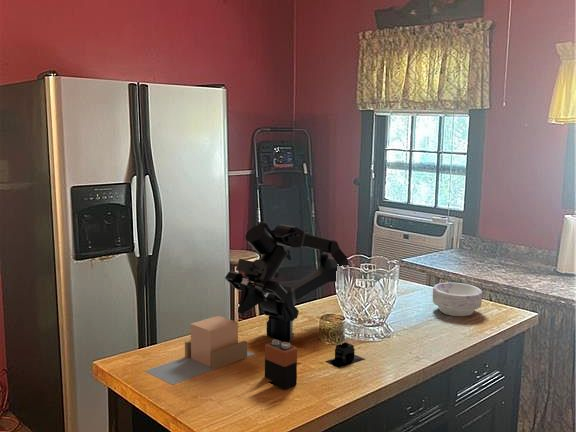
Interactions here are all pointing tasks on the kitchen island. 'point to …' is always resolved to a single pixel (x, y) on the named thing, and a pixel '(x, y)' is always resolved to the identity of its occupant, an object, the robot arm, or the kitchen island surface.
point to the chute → (199, 363)
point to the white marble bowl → (457, 298)
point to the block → (212, 337)
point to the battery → (281, 364)
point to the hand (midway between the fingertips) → (239, 313)
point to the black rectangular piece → (344, 356)
